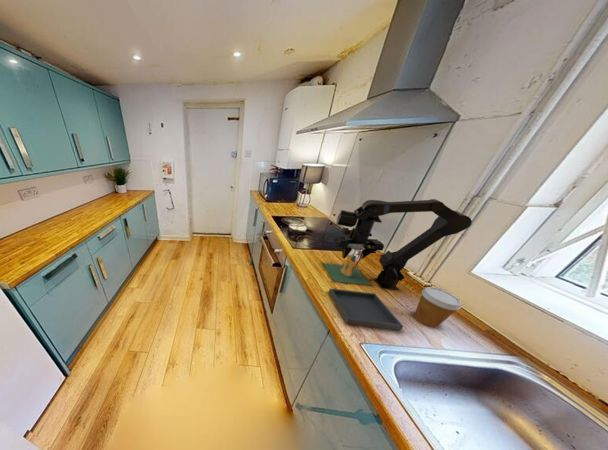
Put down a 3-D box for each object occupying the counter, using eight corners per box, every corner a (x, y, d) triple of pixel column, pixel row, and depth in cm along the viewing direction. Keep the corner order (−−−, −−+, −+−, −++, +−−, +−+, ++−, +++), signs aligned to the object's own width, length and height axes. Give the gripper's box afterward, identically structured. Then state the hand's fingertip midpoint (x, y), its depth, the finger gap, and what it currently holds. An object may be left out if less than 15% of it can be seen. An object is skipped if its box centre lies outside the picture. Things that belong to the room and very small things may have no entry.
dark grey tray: (372, 297, 83) (374, 293, 82) (400, 331, 68) (403, 326, 67) (328, 292, 85) (329, 288, 84) (346, 324, 71) (348, 319, 69)
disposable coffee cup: (449, 336, 67) (469, 311, 62) (412, 323, 72) (428, 298, 67) (438, 316, 74) (456, 292, 70) (405, 306, 79) (419, 282, 74)
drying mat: (355, 267, 102) (355, 266, 102) (371, 285, 89) (371, 285, 89) (322, 264, 104) (322, 263, 104) (334, 281, 91) (334, 281, 91)
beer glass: (357, 278, 93) (368, 251, 86) (341, 276, 94) (351, 249, 88) (350, 269, 99) (360, 244, 93) (335, 267, 100) (344, 242, 94)
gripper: (374, 223, 93) (363, 251, 99) (332, 220, 95) (324, 248, 101) (391, 233, 83) (377, 264, 89) (343, 230, 85) (333, 260, 91)
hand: (351, 258), depth 93 cm, fingers closed on beer glass, 7 cm apart
